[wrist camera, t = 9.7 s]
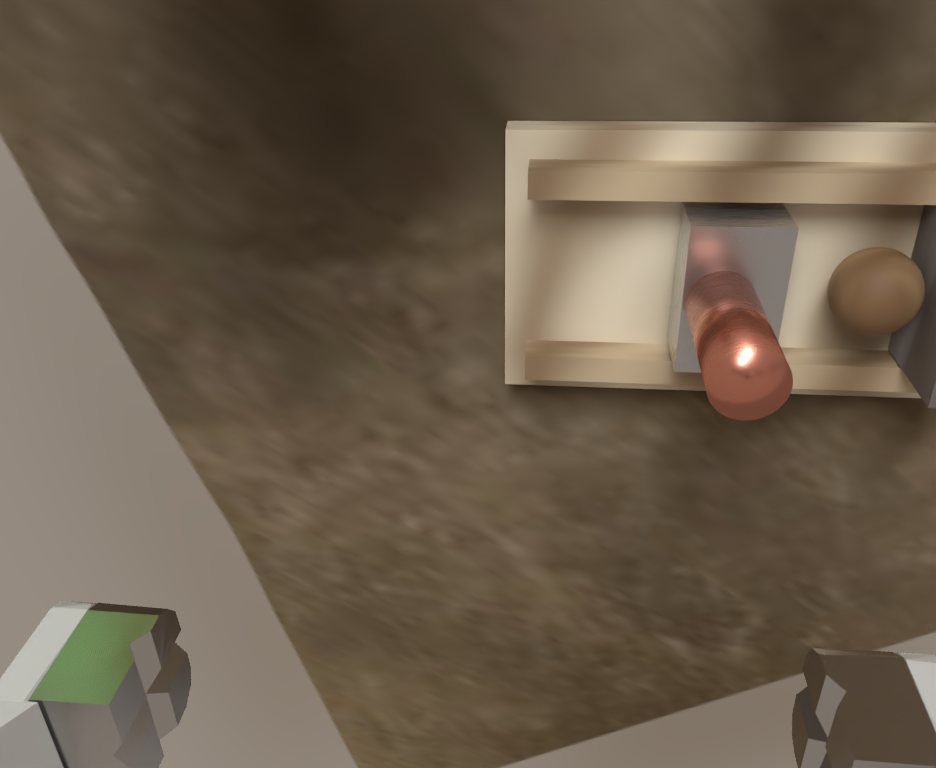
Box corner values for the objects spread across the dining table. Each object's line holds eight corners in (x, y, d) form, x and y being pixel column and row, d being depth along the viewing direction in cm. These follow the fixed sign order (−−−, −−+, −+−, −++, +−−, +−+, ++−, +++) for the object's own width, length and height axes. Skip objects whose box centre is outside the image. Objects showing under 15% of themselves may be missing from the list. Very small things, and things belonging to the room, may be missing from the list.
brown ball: (916, 234, 35) (949, 268, 32) (896, 313, 37) (926, 352, 34) (826, 233, 36) (850, 266, 33) (810, 311, 38) (832, 350, 35)
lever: (782, 202, 35) (846, 299, 27) (758, 342, 38) (809, 466, 30) (681, 201, 35) (715, 296, 27) (667, 339, 39) (692, 461, 30)
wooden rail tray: (1007, 123, 34) (1092, 169, 29) (931, 382, 40) (990, 463, 35) (507, 120, 36) (496, 164, 31) (507, 368, 42) (497, 442, 37)
